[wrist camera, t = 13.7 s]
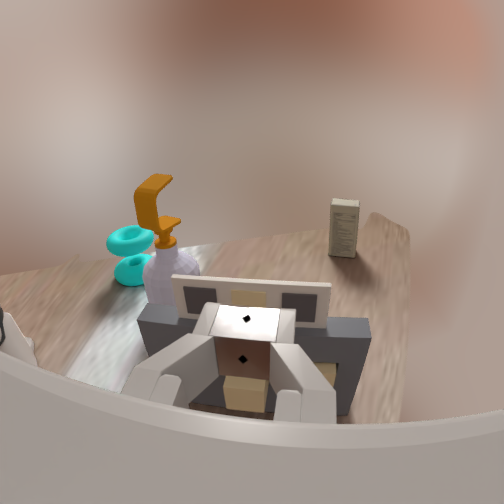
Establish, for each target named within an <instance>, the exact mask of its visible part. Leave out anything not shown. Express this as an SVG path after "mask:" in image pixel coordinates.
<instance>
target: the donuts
mask: <svg viewBox="0 0 504 504" xmlns="http://www.w3.org/2000/svg"><path fill="white" fill-rule="evenodd" d="M153 239H154V235H153V232H152V231H151V230H147V229H143V228H141V227H140V226H139V225H133V226H127V227H123V228H120V229H118V230H116V231H114V232H113V233H112V234H111V235H110V236H109V237H108V239H107V242H106V245H107V248H108V250H109V251H110V252H111V253H112V254H114V255H116V256H121V257H126V258H124V259H122V260H121V261H120V262H119V263H118V264H117V265H116V267H115V270H114V276H115V278H116V280H117V281H118V282H119V283H121V284H123V285H126V286H138V285H142V284H144V282H143V278H142V276H143V270H144V266H145V265H146V263H147V262H148V261H149V260H150V259H151V258H152V257H153V256H150V255H147V254H139V253H142V252H143V251H145V250H146V249H148V248H149V247H150V246H151V244H152V242H153Z"/></svg>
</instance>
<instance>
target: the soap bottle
mask: <svg viewBox="0 0 504 504" xmlns="http://www.w3.org/2000/svg"><path fill="white" fill-rule="evenodd" d="M172 179H173V177H172V176H171V175H163V174H154V175H152V176H150V177H149V178H148V179H147V180H146V181H144V182H143V183H142V184H141V185H140V186H139V187H138V188H137V189H136V191H135V193H134V203H135V208H136V214H137V220H138V224H139V226H140V227H141V228H143V229H147V230H151V231H154V232H155V234H157V235H159V238H158V239H157V240H156V241H155V249H156V255H155V256H153V257H152V258H151V259H150V260H149V261H148V262H147V263H146V265H145V266H144V270H143V276H142V278H143V282H144V286H145V290H146V294H147V298H148V302H149V303H151V304H160V305H170V306H176V301H175V297H174V292H173V287H172V282H171V276H172V275H173V274H178V275H192V276H200V270H199V264H198V263H197V261H196V260H195V258H194V257H193V256H191V255H189V254H187V253H185V252H183V251H178V248H177V242H176V238H175V237H172V236H170V233H171V232H172V230H173V227H175V226H176V225H178V224H180V223H181V219H180V218H175V217H169V216H161V217H159V218H158V213H157V207H156V198H157V195H158V193H159V192H160V191H161V190H162V189H163V188H164V187H165V186H166V185H167V184H168V183H170V182H171V180H172Z"/></svg>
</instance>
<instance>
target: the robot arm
mask: <svg viewBox="0 0 504 504" xmlns="http://www.w3.org/2000/svg"><path fill="white" fill-rule="evenodd" d="M295 322H296V309H285V308H281V309H278V308H263V307H251V306H241V305H232V304H223V303H222V304H221V303H213V302H207V303H206V304H205V305H204V307H203V309H202V312H201V314H200V316H199V319H198V321H197V323H196V326H195V328H194V330H193V333H192V334H190V333H188V334H186V335H184V336H183V337H181V338H180V339H178V340H176V341H175V342H173V343H172V344H170V345H168V346H167V347H165V348H164V349H162V350H160V351H159V352H157V353H156V354H154V355H152V356H151V357H149V358H147V359H146V360H144V361H143V362H141V363H139V364H138V365H136V366H134V368H133V370H132V372H131V374H130V376H129V378H128V380H127V381H126V383H125V385H124V387H123V389H122V391H121V393H116V392H113V391H109V390H106V389H102V388H99V387H96V386H92V385H89V384H86V383H83V382H80V381H77V380H73V379H70V378H68V377H65V376H62V375H59V374H56V373H53V372H51V371H48V370H45V369H43V368H40V367H37V361H36V358H35V356H34V353H33V350H34V342H33V341H32V339H31V338H29V337H24V336H23V334H22V332H21V331H20V329H19V328H18V326H17V324H16V323H15V321H14V319H13V318H12V316H11V315H10V314H9V313H6V312H3V310H2V308H1V306H0V504H504V409H502V410H497V411H492V412H486V413H481V414H474V415H468V416H461V417H454V418H446V419H437V420H427V421H415V422H403V423H402V422H401V423H380V424H336V391H335V390H334V388H333V387H332V386H331V385H330V383H329V382H328V381H327V380H326V378H325V377H324V376H323V375H322V373H321V372H320V371H319V370H318V368H317V367H316V366H315V365H314V363H313V362H312V361H311V359H310V358H309V357H308V356H307V354H306V353H305V352H304V351H303V349H302V348H301V347H300V346H299V344H294V336H295ZM219 375H224V376H235V377H245V378H253V379H261V380H269V382H270V384H271V386H272V388H273V389H274V391H275V393H276V395H277V400H276V407H275V414H274V420H262V419H253V418H244V417H236V416H229V415H222V414H215V413H209V412H203V411H197V410H191V409H190V408H189V403H190V402H191V401H192V400H193V399H194V398H196V397H197V396H198V395H199V394H200V393H201V392H202V391H203V390H204V389H205V388H207V387H208V386H209V385H210V384H211V383H212V382H213V381H214V380H215V379H216V378H217V377H218V376H219Z"/></svg>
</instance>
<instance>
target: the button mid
mask: <svg viewBox="0 0 504 504" xmlns="http://www.w3.org/2000/svg"><path fill="white" fill-rule="evenodd" d="M268 386H269V380H261V379H253V378H245V377H235V376H226V378H225V381H224V385H223V391H224V396H225V402H226V408H227V409H233V410H241V411H250V412H260V413H264V411H265V405H266V399H267V392H268Z"/></svg>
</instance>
